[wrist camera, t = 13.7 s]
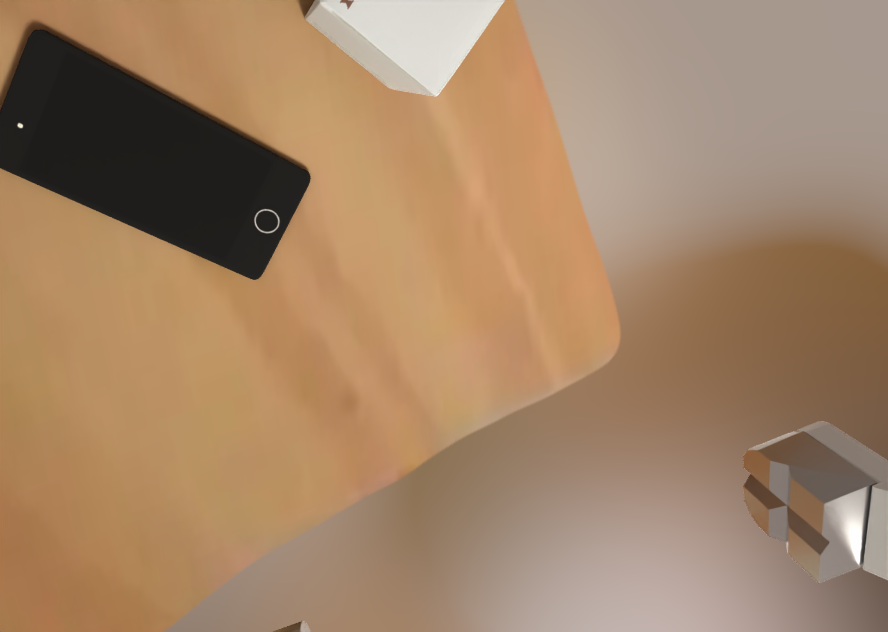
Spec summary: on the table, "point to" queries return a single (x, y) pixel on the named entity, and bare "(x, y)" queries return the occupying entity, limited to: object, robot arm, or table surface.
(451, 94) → the table surface
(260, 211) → the cell phone
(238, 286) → the table surface
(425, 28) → the supplement box
